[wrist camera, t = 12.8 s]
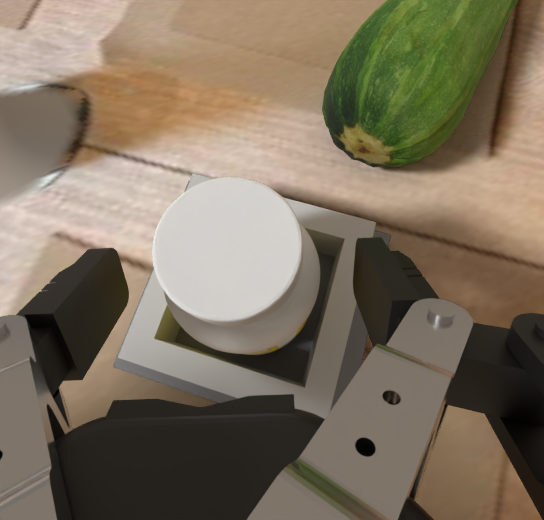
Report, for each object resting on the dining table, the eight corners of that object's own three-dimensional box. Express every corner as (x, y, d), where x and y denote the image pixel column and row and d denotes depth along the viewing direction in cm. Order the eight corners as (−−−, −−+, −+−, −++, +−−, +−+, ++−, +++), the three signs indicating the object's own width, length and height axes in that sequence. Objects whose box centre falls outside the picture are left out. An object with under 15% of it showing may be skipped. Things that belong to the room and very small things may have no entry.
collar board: (121, 366, 19) (79, 368, 15) (193, 188, 21) (173, 151, 18) (339, 440, 17) (354, 463, 14) (385, 240, 20) (410, 212, 16)
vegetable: (345, 49, 14) (557, -203, 18) (279, 118, 20) (444, -76, 25) (455, 178, 16) (622, -77, 20) (361, 203, 22) (501, 9, 27)
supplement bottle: (272, 235, 19) (261, 119, 10) (328, 317, 18) (378, 274, 9) (187, 287, 19) (90, 217, 9) (239, 376, 17) (189, 401, 8)
